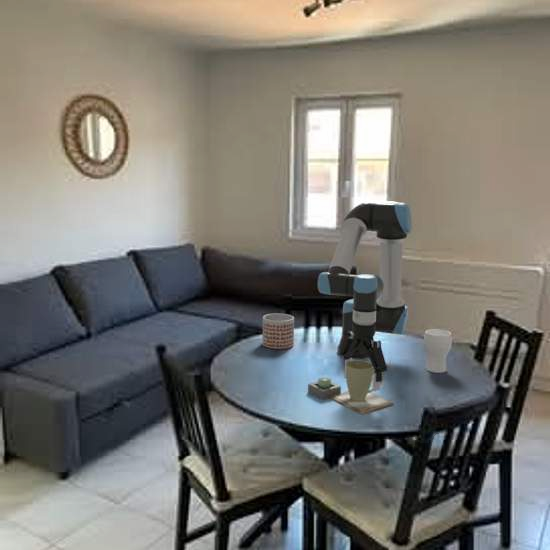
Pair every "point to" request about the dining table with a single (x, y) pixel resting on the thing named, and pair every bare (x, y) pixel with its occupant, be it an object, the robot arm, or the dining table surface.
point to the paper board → (362, 402)
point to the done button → (324, 382)
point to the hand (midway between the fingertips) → (361, 383)
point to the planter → (278, 331)
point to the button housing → (323, 390)
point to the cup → (437, 349)
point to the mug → (359, 379)
